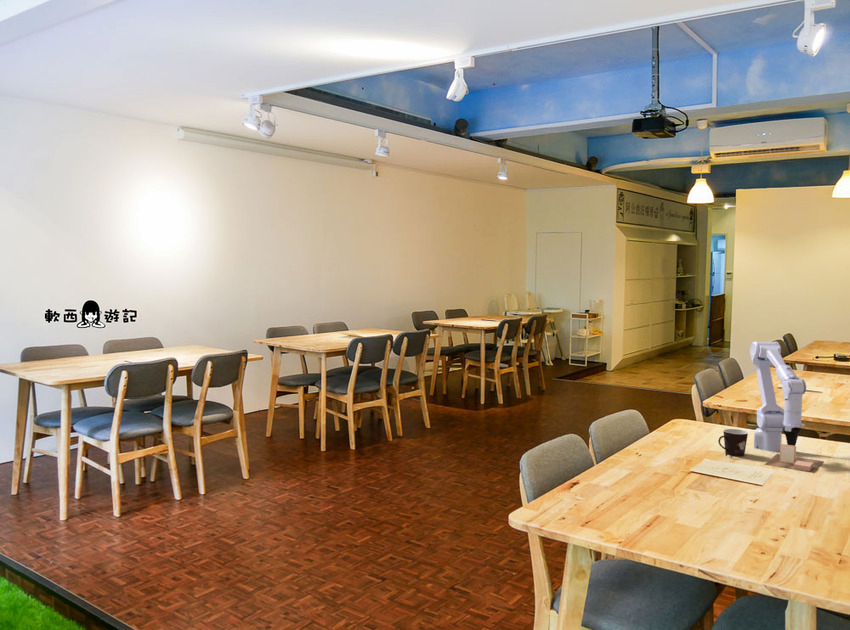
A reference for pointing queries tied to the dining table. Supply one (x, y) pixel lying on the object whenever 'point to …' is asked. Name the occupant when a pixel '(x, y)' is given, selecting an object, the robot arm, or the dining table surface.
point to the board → (776, 462)
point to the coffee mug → (734, 442)
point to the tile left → (787, 454)
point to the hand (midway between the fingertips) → (791, 447)
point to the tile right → (803, 465)
